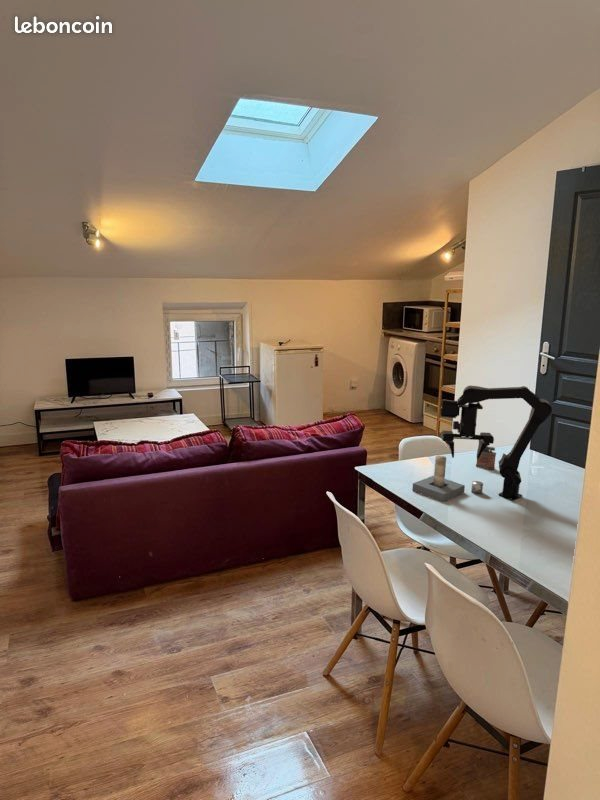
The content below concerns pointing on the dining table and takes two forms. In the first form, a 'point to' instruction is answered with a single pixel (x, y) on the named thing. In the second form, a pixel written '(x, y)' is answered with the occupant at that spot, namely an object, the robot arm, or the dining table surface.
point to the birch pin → (439, 471)
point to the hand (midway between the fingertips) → (465, 458)
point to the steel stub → (477, 487)
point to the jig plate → (438, 489)
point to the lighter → (487, 459)
